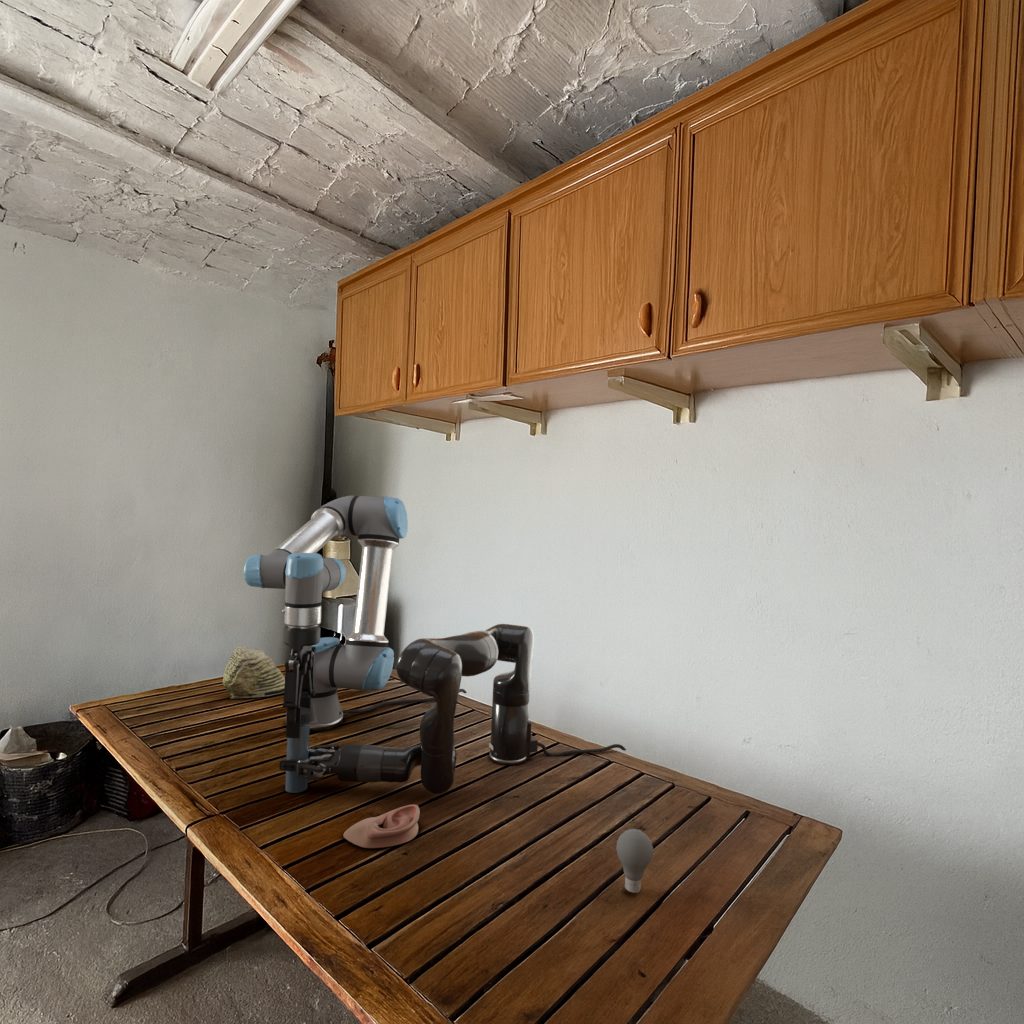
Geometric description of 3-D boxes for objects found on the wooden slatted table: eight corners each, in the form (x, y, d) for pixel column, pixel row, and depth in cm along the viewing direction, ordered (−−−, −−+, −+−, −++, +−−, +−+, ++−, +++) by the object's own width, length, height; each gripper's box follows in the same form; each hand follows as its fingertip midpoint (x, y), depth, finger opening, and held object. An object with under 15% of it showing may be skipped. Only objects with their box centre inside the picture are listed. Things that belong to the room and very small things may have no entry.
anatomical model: (336, 822, 116) (363, 794, 127) (335, 843, 116) (362, 813, 127) (404, 832, 113) (426, 803, 124) (403, 854, 113) (425, 823, 124)
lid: (304, 715, 141) (305, 705, 140) (315, 721, 137) (315, 712, 137) (282, 720, 137) (282, 710, 137) (292, 726, 133) (292, 716, 133)
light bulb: (610, 879, 108) (613, 822, 108) (644, 879, 109) (647, 822, 109) (619, 902, 102) (622, 840, 102) (655, 901, 103) (658, 840, 103)
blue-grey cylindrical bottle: (304, 792, 135) (307, 718, 135) (282, 793, 135) (285, 718, 134) (309, 783, 140) (311, 711, 139) (287, 783, 139) (290, 711, 139)
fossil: (218, 695, 195) (220, 647, 195) (278, 685, 208) (279, 640, 207) (228, 703, 189) (230, 653, 188) (289, 692, 201) (290, 645, 201)
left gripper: (299, 616, 146) (295, 715, 146) (268, 633, 127) (264, 748, 127) (331, 617, 146) (328, 717, 146) (305, 635, 127) (301, 749, 127)
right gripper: (371, 733, 144) (296, 730, 144) (355, 759, 130) (272, 755, 130) (370, 766, 144) (295, 763, 144) (354, 795, 130) (271, 792, 130)
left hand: (298, 731), depth 137 cm, fingers open, 6 cm apart
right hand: (285, 759), depth 137 cm, fingers closed on blue-grey cylindrical bottle, 4 cm apart
